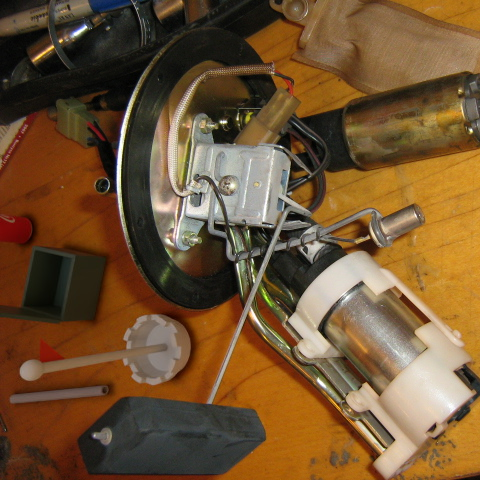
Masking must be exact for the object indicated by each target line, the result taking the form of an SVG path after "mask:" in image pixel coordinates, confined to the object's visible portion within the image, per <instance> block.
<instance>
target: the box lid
mask: <svg viewBox="0 0 480 480" xmlns="http://www.w3.org/2000/svg"><path fill="white" fill-rule="evenodd" d="M0 318H5V319H11V320H19V321H29V322H39V323H47V324H55V325H60V324H61V320H58V319H55V318H52V317H49V316H45V315H42V314H39V313H35V312H32V311H29V310H26V309H22V308H21V307H20V306H19V307H18V306H12V305H6V304H0Z"/></svg>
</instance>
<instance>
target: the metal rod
mask: <svg viewBox="0 0 480 480" xmlns="http://www.w3.org/2000/svg"><path fill="white" fill-rule="evenodd" d="M108 393H109V386H108V385H107V384H102V385H94V386H84V387H82V386H81V387H74V388H63V389H54V390H43V391H35V392H23V393H15V394H12V395H11V396H10V397H9V403H10V404H12V405H13V404H14V405H15V404H23V403H35V402H46V401H57V400H67V399H76V398H77V399H78V398H88V397H89V398H90V397H101V396H107V394H108Z"/></svg>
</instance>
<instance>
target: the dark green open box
mask: <svg viewBox="0 0 480 480" xmlns="http://www.w3.org/2000/svg"><path fill="white" fill-rule="evenodd" d="M106 261H107V257H105V256H101V255H96V254H92V253H89V252H84V251H79V250H74V249H70V248H66V247H65V248H63V247H53V246H42V245H32V249H31V254H30V259H29V264H28V269H27V274H26V279H25V284H24V288H23V292H22V293H23V294H22V299H21V302H20V303H21V304H20V308H22V309H26V310H29V311H32V312H35V313H39V314H42V315H45V316H49V317H52V318H55V319H58V320H61V321H60V323H66V322H67V323H69V322H81V321H94V320H95V319H96V318H95V317H96V312H97V307H98V302H99V296H100V291H101V287H102V283H103V282H102V281H103V276H104V271H105V266H106Z"/></svg>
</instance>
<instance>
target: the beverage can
mask: <svg viewBox="0 0 480 480" xmlns="http://www.w3.org/2000/svg"><path fill="white" fill-rule="evenodd" d="M32 234H33V224H32V222H31V220H30V219H29V218H27V217H24V216H17V215H11V214H3V213H0V242H1V243H11V244H12V243H13V244H25V243H27V242H28V241H29V239H30V238H31V236H32Z"/></svg>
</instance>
